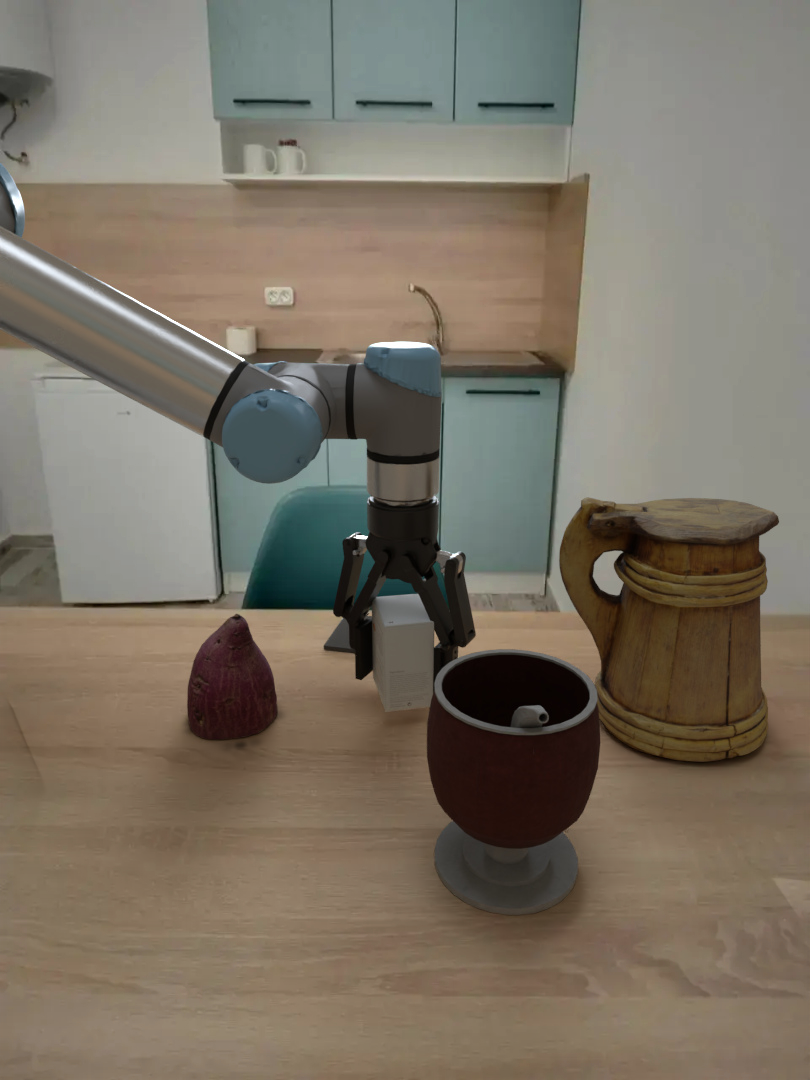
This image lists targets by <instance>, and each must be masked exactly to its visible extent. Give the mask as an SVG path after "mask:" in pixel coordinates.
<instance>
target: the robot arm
mask: <svg viewBox="0 0 810 1080" xmlns="http://www.w3.org/2000/svg"><path fill="white" fill-rule="evenodd" d="M25 213H26V212H25V205H24V202H23V198H22V195H21V192H20V190H19V188H18V187H17V185H16V182H15V180H14V178H13V176H12V175H11V173H10V172H9V171H8V169H7V168H6V167H5V166H4V164H3V163H1V162H0V331H1V332H3V333H5V334H7V335H9V336H11V337H13V338H15V339H16V340H18V341H20V342H22V343H24V344H26V345H29V346H30V347H32V348H34V349H36V350H37V351H39V352H42V353H44V354H45V355H47V356H50V358H53V359H54V360H57V361H59V362H60V363H62V364H64V365H66V366H68V367H70V368H72V369H74V370H76V371H78V372H80V373H81V374H84V375H85V376H87V377H89V378H90V379H93V380H94V381H97V382H98V383H100V384H102V385H104V386H106V387H108V388H110V389H111V390H113V391H115V392H117V393H119V394H121V395H123V396H124V397H127V398H129V399H131V400H132V401H135V402H136V403H138V404H140V405H142V406H144V407H146V408H148V409H149V410H152V411H153V412H155V413H157V414H159V415H161V416H163V417H165V418H167V419H169V420H170V421H172V422H174V423H176V424H178V425H180V426H182V427H184V428H185V429H187V430H189V431H192V432H193V433H195V434H197V435H199V436H201V437H202V438H204V439H206V440H209V441H211V442H212V443H214V444H215V445H218V447H219V446H220V447H221V448H222V449H223V453H224V455H225V457H226V458H227V460H228V461H229V463H230V464H231V465H232V467H233V468H234V469H235V470H236V471H237V472H238V474H240V475H241V476H243V477H245V478H246V479H248V480H250V481H253V482H256V483H259V484H266V485H270V484H280V483H283V482H285V481H289V480H291V479H292V478H294V477H296V476H297V475H298V474H300V473H301V472H302V471H304V469H305V468H307V467H308V466H309V465H310V463H311V462H312V461H313V460H315V459H316V458H317V456H318V454H319V452H320V450H321V447H322V443H323V442H324V441H325V440H365V442H366V493H368V495H369V497H368V498H367V499H366V526H367V527H366V528H367V530H368V535H363V534H362V533H361V531H360V532H359V531H355V532H354V533H352V534H350V535H349V536H347V537H345V538H344V539H343V540H342V543H341V544H342V552H343V561H342V566H341V570H340V576H339V581H338V585H337V588H336V594H335V599H334V602H333V603H334V604H333V608H332V614H333V616H335V617H336V618H340V617H341V618H344V619H346V620H347V623H348V624H349V645H350V647H351V649H355V653H354V668H355V672H354V673H355V679H356V680H358V681H362V680H364V678H365V677H367V676H368V675H369V674H370V673H372V672H373V646H372V620H371V619H366V620H364V618H365V617H366V616H369V615H370V610H371V609H372V602H373V600H374V599H375V598H376V597H378V595H379V593H380V592H381V589H382V588H383V586H384V584H385V582H386V580H399V581H401V582H403V583H407V584H411V587H412V589H413V591H414V593H415V594H419V596H420V599H421V601H422V603H423V605H424V608H425V610H426V612H427V614H428V617H429V619H430V621H433V622H434V633H435V635H436V637H437V639H438V641H439V643H437V644H436V645H434V672H433V693H434V689H435V686H434V683H435V680H436V677H437V674H438V673H439V672H440V671H441V669H442V668H443V667H444V666H446V665H447V664H448V663H450V662H451V661H453V660H455V659H457V658H459V648H462V649H463V648H466V647H467V646H468V645H469V644H470V643H471V642H472V641H473V640H474V639H475V638H476V636H477V635H476V634H477V632H476V627H475V621H474V617H473V611H472V608H471V602H470V597H469V591H468V587H467V582H466V578H465V577H466V576H465V567H466V566H465V565H466V561H467V557H466V554H465V553H464V552H463V551H457V552H455V553H452V552H449V551H446V550H443V549H442V548H441V546H440V544H439V540H438V533H439V521H440V520H439V519H440V517H439V516H440V500H439V498H438V497H437V496H436V495H438V494H439V492H440V466H441V465H440V462H441V460H440V458H441V457H440V456H441V426H442V401H443V399H442V398H443V396H442V395H443V389H442V358H441V354H440V352H439V351H438V350H437V348H436V347H435V346H434V345H431V344H429V343H425V342H419V341H417V342H416V341H381V342H375V343H372V344H369V346H368V347H366V350H365V357H364V358H363V362H357V363H349V364H348V363H347V364H345V363H319V362H318V363H317V362H316V363H313V362H288V361H287V360H278V361H277V362H259V363H254V364H253V363H250V362H249V361H246V360H245V359H244V358H242V357H241V356H239V355H237V354H235V353H234V352H232V351H230V350H228V349H226V348H225V347H223V346H221V345H219V344H217V343H215V342H214V341H211V340H210V339H208V338H206V337H204V336H202V335H201V334H199V333H198V332H195V331H193V330H192V329H190V328H188V327H186V326H184V325H182V324H181V323H179V322H177V321H175V320H173V319H171V318H170V317H167V316H166V315H165V314H162V313H160V312H159V311H157V310H155V309H153V308H151V307H149V306H147V305H146V304H144V303H143V302H140V301H138V300H137V299H135V298H133V297H132V296H129V295H128V294H125V293H124V292H122V291H120V290H118V289H117V288H114V287H112V286H111V285H109V284H107V283H106V282H103V281H102V280H100V279H98V278H96V277H95V276H93V275H90V274H89V273H87V272H85V271H83V270H81V269H80V268H78V267H76V266H75V265H72V264H71V263H69V262H67V261H65V260H63V259H62V258H60V257H57V256H56V255H55V254H52V253H50V251H49V252H48V251H47V250H45V249H43V248H42V247H39V246H38V245H36V244H34V243H32V242H30V241H28V240H26V238H25V239H24V237H23V235H24V232H25V226H26V214H25ZM367 551H368V553H369V555H370V556H371V558H372V560H373V562H374V563H373V565H372V567H371V568H370V571H369V572H368V574H367V579H366V581H365V583H364V585H363V587H362V589H361V590H360V593H359V594H358V596H357V598H356V595H357V590H358V587H359V581H360V577H361V573H362V568H363V565H364V564H363V563H364V559H365V554H366V552H367ZM436 563H438V565H439V566H440V571H439V572H440V573H441V574H443V583H444V589H445V594H446V598H447V602H446V599H445V596H444V594H443V592H442V590H441V588H440V585H439V583H438V582H439V578H438V574H437V572H436V570H435V568H434V565H435V564H436ZM355 599H356V600H355Z"/></svg>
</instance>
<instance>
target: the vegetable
mask: <svg viewBox="0 0 810 1080" xmlns="http://www.w3.org/2000/svg"><path fill="white" fill-rule="evenodd" d="M192 662H193V663H192V666H191V672H190V675H189V679H188V683H187V699H186V700H187V702H186V708H187V709H186V710H187V720H188V725H189V728H190V731H191V732H192V733H193V734H194V735H196V736H198V737H200V738H202V739H205V740H217V741H218V740H222V741H223V740H230V739H239V738H247V737H250V736H254V735H258V734H260V733H261V732H263V731H264V730H265V729H267V728H268V727H269V726H270V725H271V724H272V722H273V721H274V720H275V719H276V718H277V715H278V700H277V699H278V698H277V697H278V696H277V692H276V686H275V678H274V674H273V671H272V667H271V665H270V663H269V661H268V660H267V657H266V656H265V655H264V653H263V652H262V650H261V648H260V647H259V646H258V644H257V643H256V641H255V640H254V637H253V635H252V633H251V630H250V626H249V623H248V621H247V619H246V618H245V617H243V616H242V615H241V614H239V613H235V614H234V615H232V616H229V617H228V618H227V619H226V620H225V621H224V622H223V623H222V624H221V625H220V626H219V627H218V628H217V629H216V630H215V631H214V632H213V633H211V634H210V635H209V636H208V637H207V638H206V639H205V640H204V641H203V642H202V644H201V646H200V647H199V649H198V651H197V653H196V654H195V656H194V659H193V661H192Z"/></svg>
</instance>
